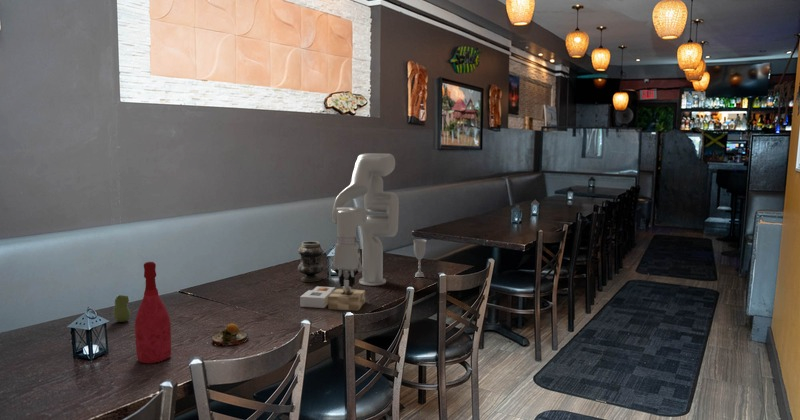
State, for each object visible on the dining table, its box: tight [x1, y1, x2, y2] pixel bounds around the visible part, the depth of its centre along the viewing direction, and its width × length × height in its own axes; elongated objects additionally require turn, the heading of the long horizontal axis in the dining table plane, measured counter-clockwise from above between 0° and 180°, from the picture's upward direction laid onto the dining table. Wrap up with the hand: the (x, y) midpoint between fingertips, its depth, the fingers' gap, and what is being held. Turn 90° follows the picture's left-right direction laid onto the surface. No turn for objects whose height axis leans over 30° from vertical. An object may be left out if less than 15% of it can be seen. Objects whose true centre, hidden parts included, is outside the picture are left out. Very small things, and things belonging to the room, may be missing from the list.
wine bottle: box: [134, 261, 172, 364], centre depth 168 cm, size 10×10×30 cm
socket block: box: [299, 285, 336, 309], centre depth 231 cm, size 18×10×4 cm, turn 170°
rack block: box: [327, 288, 366, 312], centre depth 225 cm, size 12×12×5 cm
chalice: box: [412, 238, 427, 278], centre depth 271 cm, size 7×7×18 cm
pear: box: [112, 294, 132, 323], centre depth 203 cm, size 6×5×10 cm
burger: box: [210, 321, 249, 347], centre depth 186 cm, size 12×12×8 cm
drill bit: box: [342, 269, 352, 295], centre depth 224 cm, size 3×3×12 cm
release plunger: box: [319, 286, 327, 291], centre depth 236 cm, size 4×4×3 cm
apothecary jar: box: [297, 240, 324, 283], centre depth 265 cm, size 12×12×18 cm
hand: (347, 285), depth 224 cm, fingers closed on drill bit, 3 cm apart
